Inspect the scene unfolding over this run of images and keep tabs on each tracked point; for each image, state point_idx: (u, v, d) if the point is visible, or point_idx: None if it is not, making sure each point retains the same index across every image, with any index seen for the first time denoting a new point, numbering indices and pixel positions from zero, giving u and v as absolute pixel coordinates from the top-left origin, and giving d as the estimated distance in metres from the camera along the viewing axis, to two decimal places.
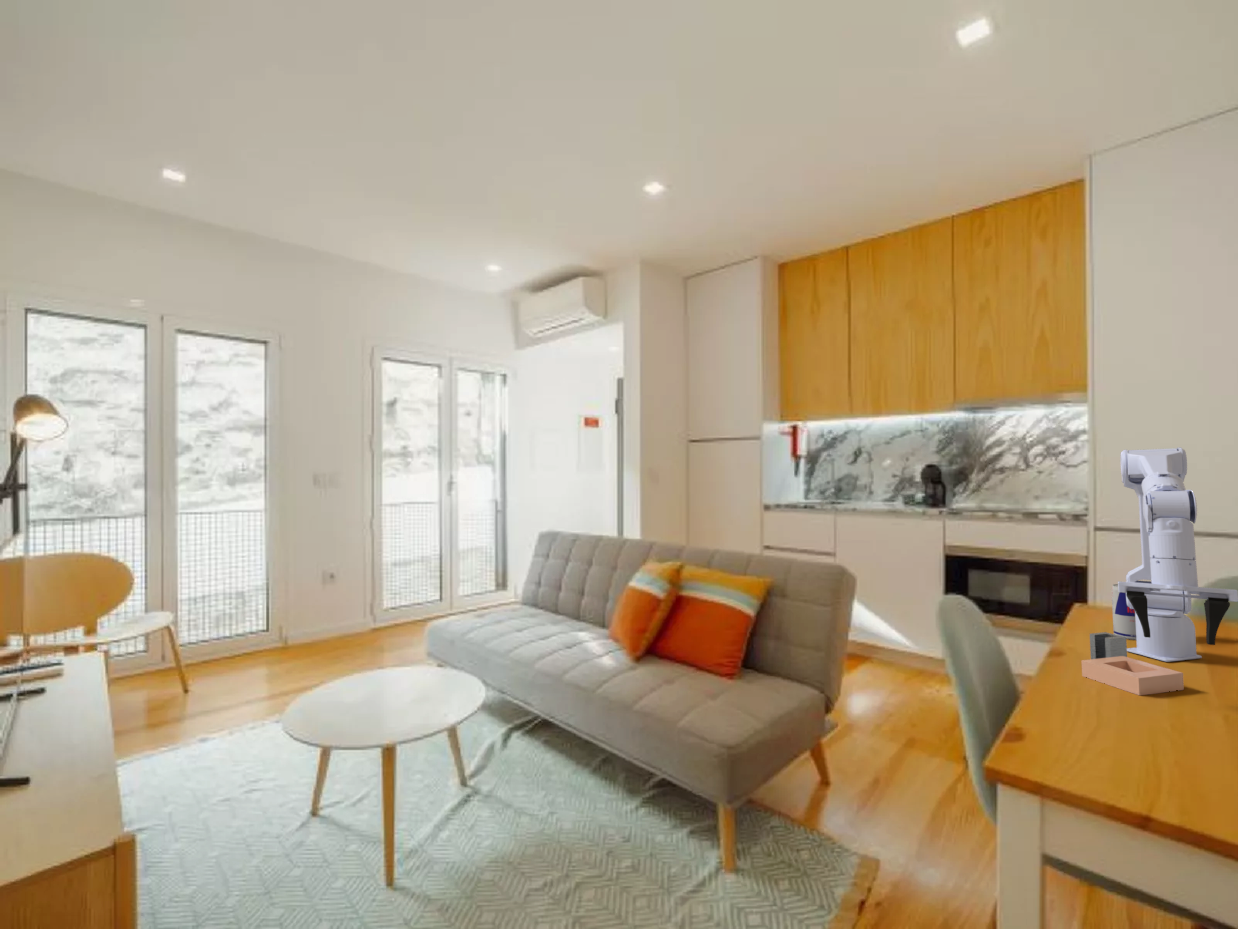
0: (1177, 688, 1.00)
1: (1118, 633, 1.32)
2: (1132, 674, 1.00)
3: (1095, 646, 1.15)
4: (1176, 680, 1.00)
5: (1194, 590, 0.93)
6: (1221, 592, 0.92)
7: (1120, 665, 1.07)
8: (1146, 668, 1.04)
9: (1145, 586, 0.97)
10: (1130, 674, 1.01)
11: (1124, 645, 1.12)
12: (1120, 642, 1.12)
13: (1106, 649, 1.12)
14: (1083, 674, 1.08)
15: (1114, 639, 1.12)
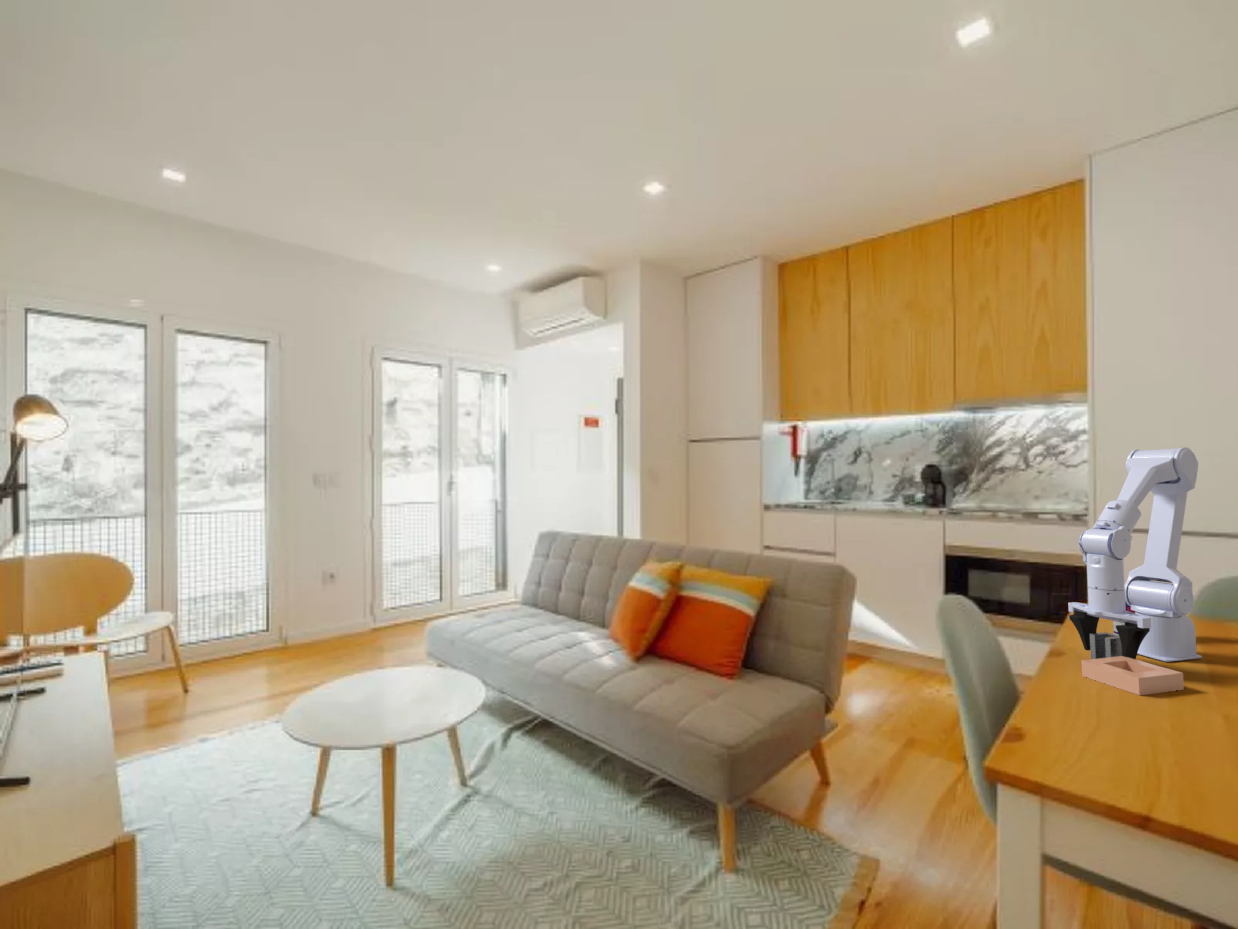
0: (1177, 688, 1.00)
1: None
2: (1132, 674, 1.00)
3: (1095, 646, 1.15)
4: (1176, 680, 1.00)
5: (1108, 616, 1.12)
6: (1131, 619, 1.09)
7: (1120, 665, 1.07)
8: (1146, 668, 1.04)
9: (1081, 609, 1.18)
10: (1130, 674, 1.01)
11: None
12: (1120, 642, 1.12)
13: (1106, 649, 1.12)
14: (1083, 674, 1.08)
15: (1114, 639, 1.12)
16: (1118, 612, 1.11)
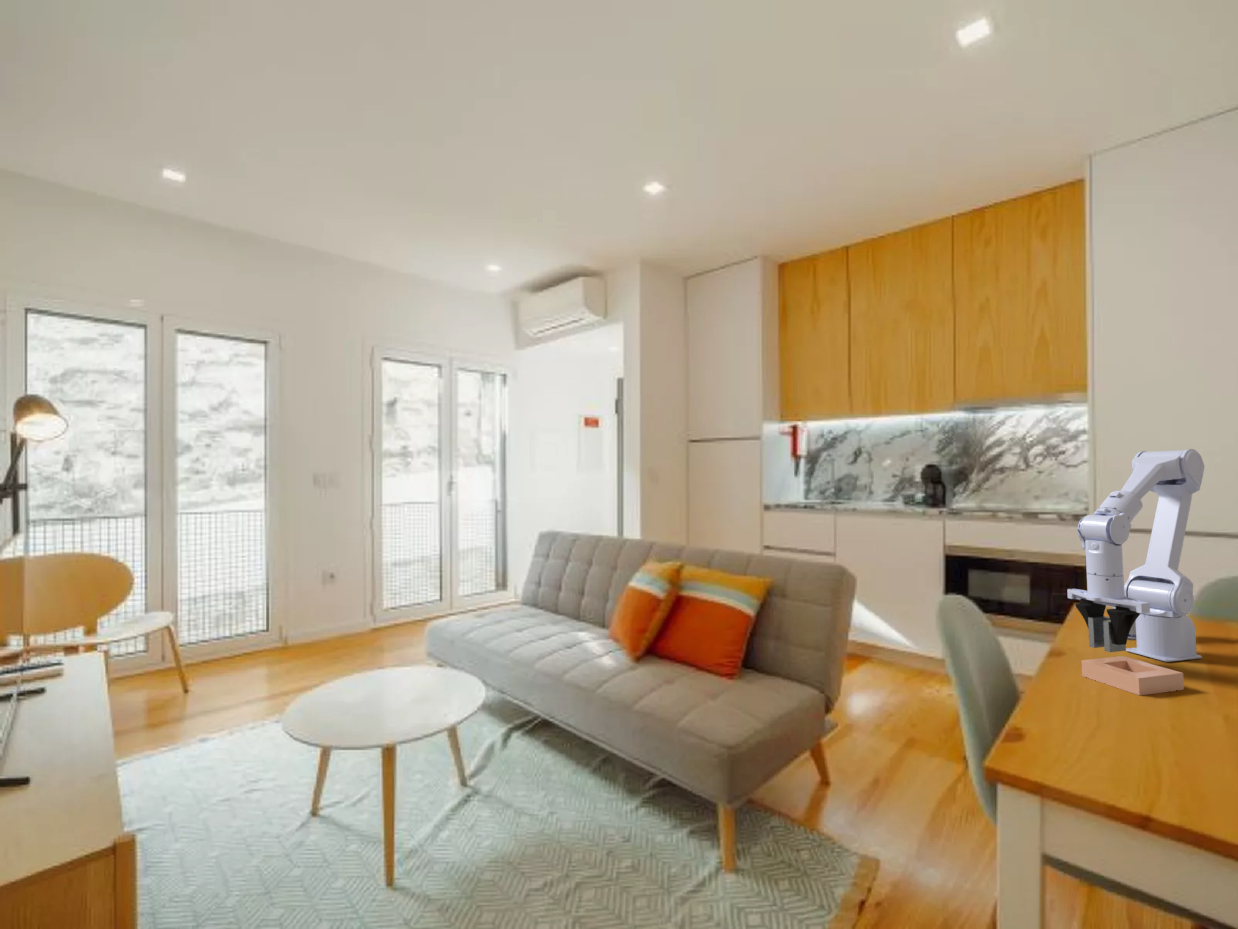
0: (1177, 688, 1.00)
1: None
2: (1132, 674, 1.00)
3: (1094, 629, 1.15)
4: (1176, 680, 1.00)
5: (1107, 601, 1.12)
6: (1129, 604, 1.09)
7: (1120, 665, 1.07)
8: (1146, 668, 1.04)
9: (1080, 595, 1.18)
10: (1130, 674, 1.01)
11: None
12: None
13: (1104, 632, 1.13)
14: (1083, 674, 1.08)
15: None
16: (1117, 598, 1.11)
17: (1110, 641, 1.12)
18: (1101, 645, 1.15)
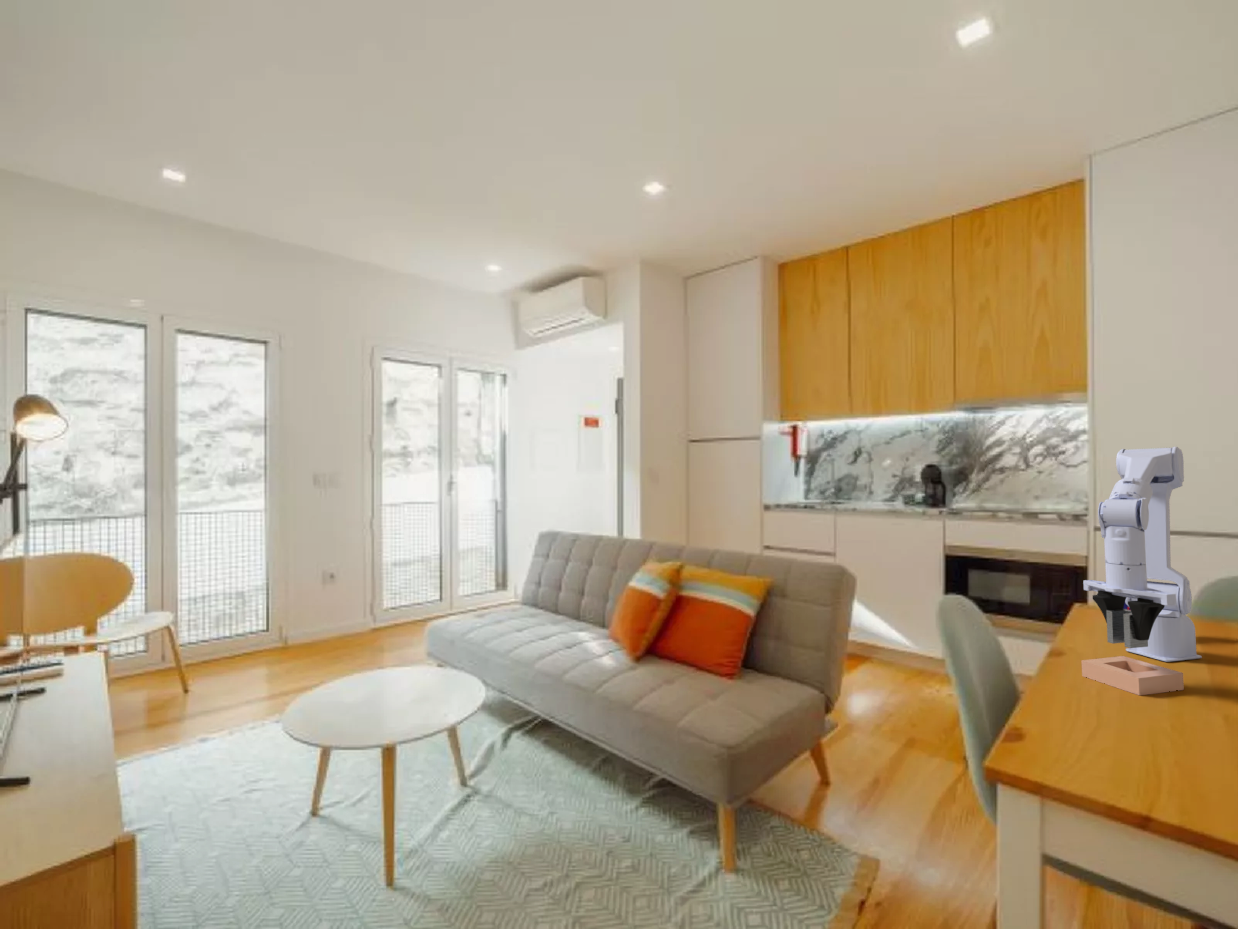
0: (1177, 688, 1.00)
1: None
2: (1132, 674, 1.00)
3: (1112, 623, 1.05)
4: (1176, 680, 1.00)
5: (1128, 593, 1.02)
6: (1153, 596, 0.99)
7: (1120, 665, 1.07)
8: (1146, 668, 1.04)
9: (1097, 586, 1.08)
10: (1130, 674, 1.01)
11: None
12: None
13: (1125, 626, 1.03)
14: (1083, 674, 1.08)
15: None
16: (1139, 589, 1.02)
17: (1131, 636, 1.02)
18: (1120, 640, 1.05)
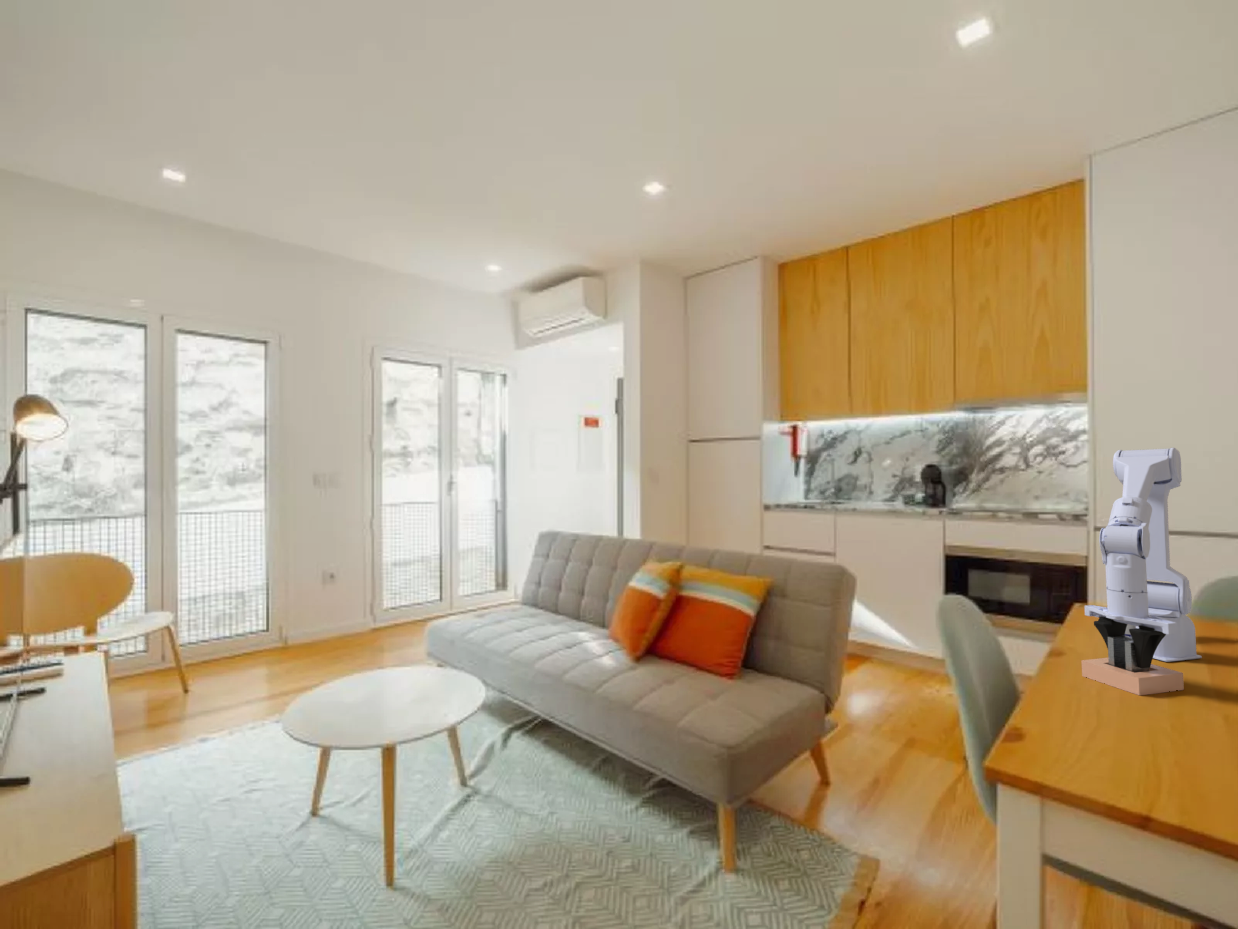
0: (1177, 688, 1.00)
1: None
2: (1132, 674, 1.00)
3: (1114, 650, 1.05)
4: (1176, 680, 1.00)
5: (1129, 620, 1.02)
6: (1155, 624, 0.99)
7: None
8: None
9: (1099, 612, 1.08)
10: (1130, 674, 1.01)
11: None
12: None
13: (1126, 654, 1.03)
14: (1083, 674, 1.08)
15: None
16: (1140, 616, 1.02)
17: (1133, 664, 1.02)
18: (1122, 667, 1.05)
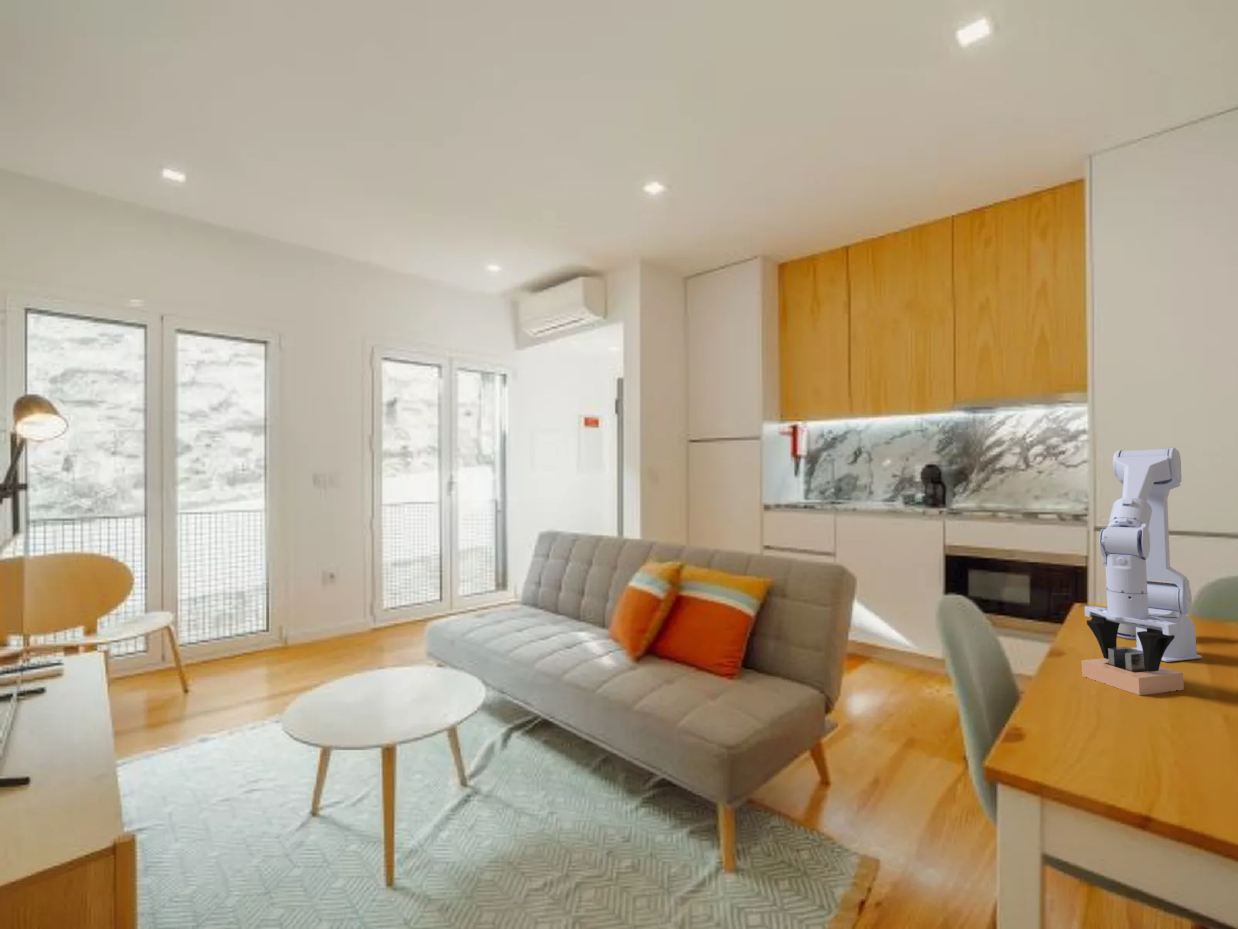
0: (1177, 688, 1.00)
1: (1118, 633, 1.32)
2: (1132, 674, 1.00)
3: (1114, 661, 1.05)
4: (1176, 680, 1.00)
5: (1129, 621, 1.02)
6: (1155, 625, 0.99)
7: None
8: None
9: (1099, 613, 1.08)
10: (1130, 674, 1.01)
11: None
12: (1142, 657, 1.03)
13: (1126, 666, 1.03)
14: (1083, 674, 1.08)
15: (1135, 655, 1.02)
16: (1140, 617, 1.02)
17: None
18: None
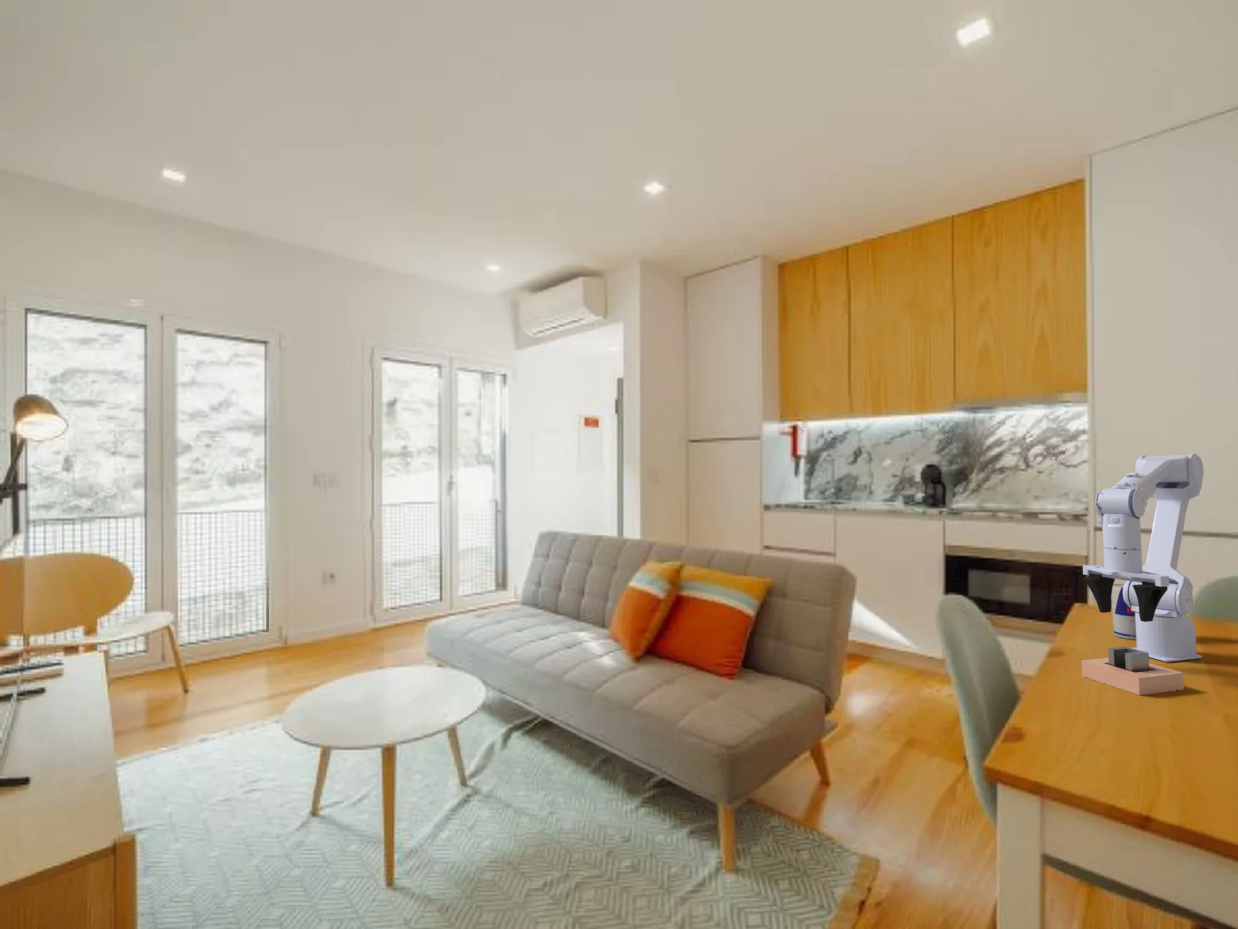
0: (1177, 688, 1.00)
1: (1118, 633, 1.32)
2: (1132, 674, 1.00)
3: (1114, 661, 1.05)
4: (1176, 680, 1.00)
5: (1125, 575, 1.10)
6: (1148, 578, 1.07)
7: None
8: None
9: (1096, 570, 1.16)
10: (1130, 674, 1.01)
11: (1146, 661, 1.03)
12: (1142, 657, 1.03)
13: (1126, 666, 1.03)
14: (1083, 674, 1.08)
15: (1135, 655, 1.02)
16: (1135, 572, 1.09)
17: None
18: None
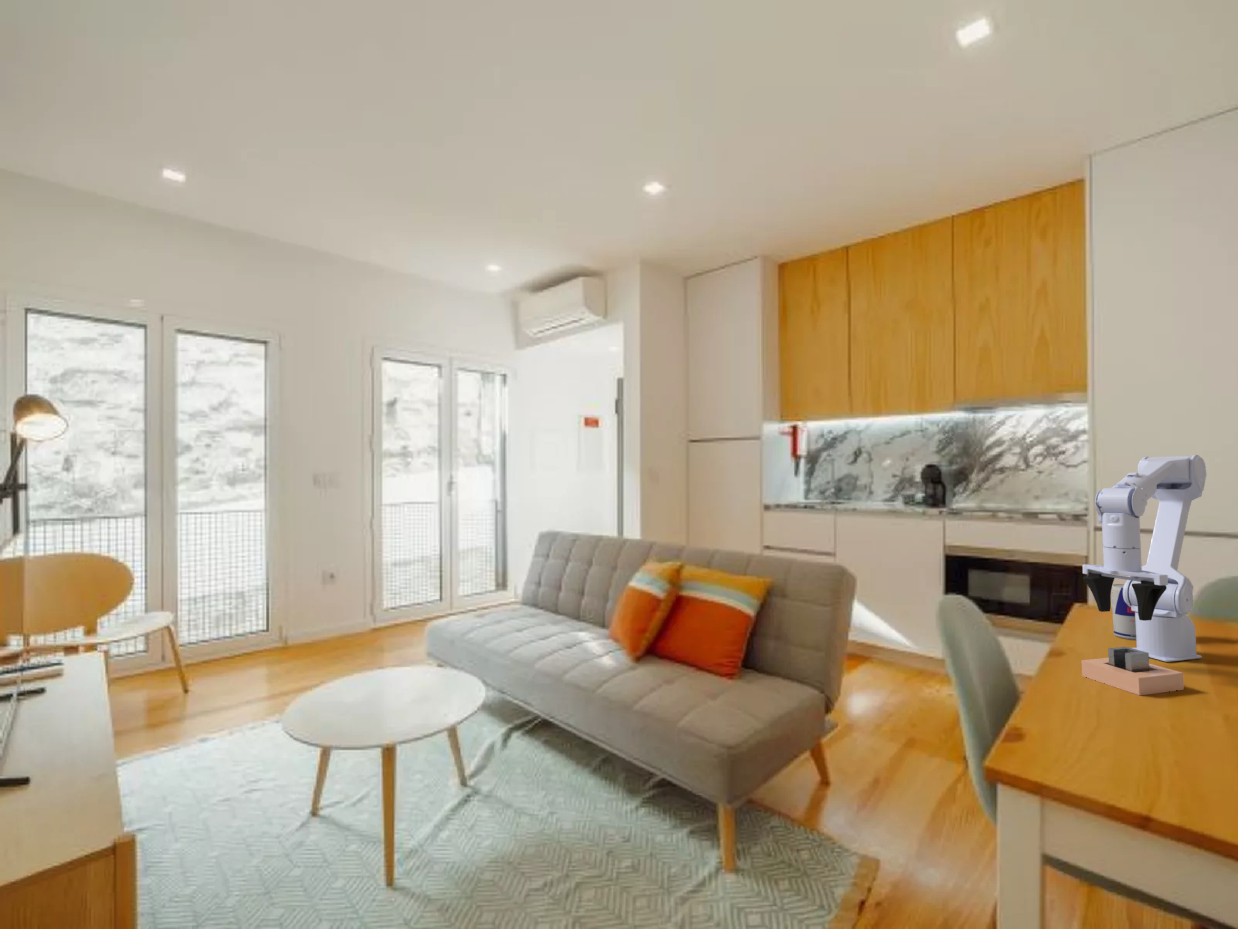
0: (1177, 688, 1.00)
1: (1118, 633, 1.32)
2: (1132, 674, 1.00)
3: (1114, 661, 1.05)
4: (1176, 680, 1.00)
5: (1124, 574, 1.10)
6: (1147, 577, 1.07)
7: None
8: None
9: (1095, 569, 1.16)
10: (1130, 674, 1.01)
11: (1146, 661, 1.03)
12: (1142, 657, 1.03)
13: (1126, 666, 1.03)
14: (1083, 674, 1.08)
15: (1135, 655, 1.02)
16: (1134, 571, 1.10)
17: None
18: None
